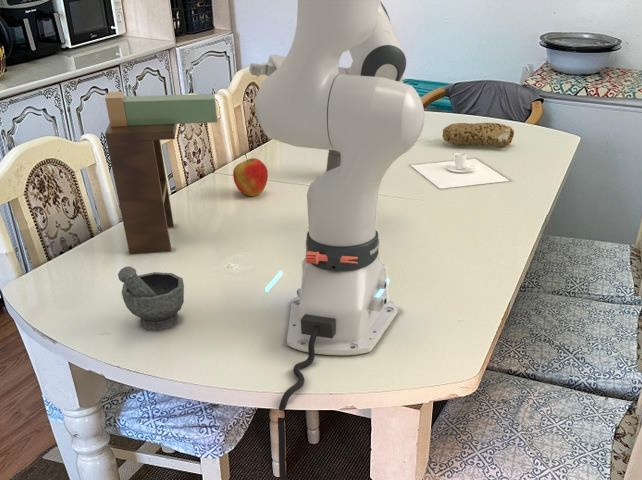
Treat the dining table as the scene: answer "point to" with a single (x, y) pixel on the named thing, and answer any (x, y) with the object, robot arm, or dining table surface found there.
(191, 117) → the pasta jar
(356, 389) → the dining table surface
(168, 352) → the dining table surface
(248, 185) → the apple
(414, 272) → the dining table surface
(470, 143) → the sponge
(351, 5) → the robot arm
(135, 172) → the rack
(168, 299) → the mortar and pestle
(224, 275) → the dining table surface
